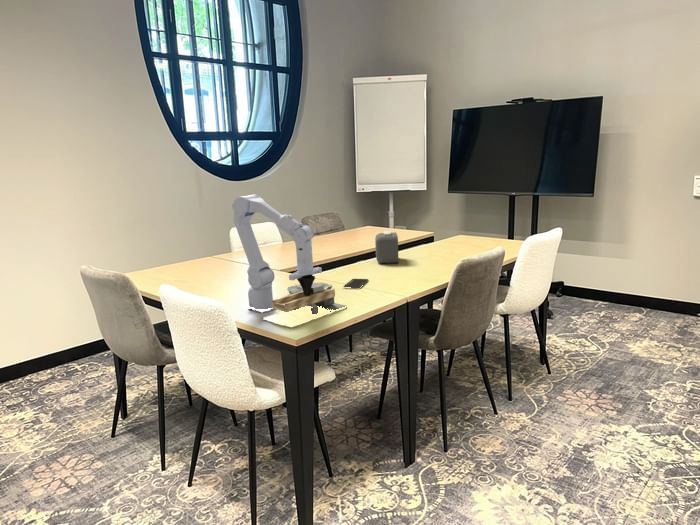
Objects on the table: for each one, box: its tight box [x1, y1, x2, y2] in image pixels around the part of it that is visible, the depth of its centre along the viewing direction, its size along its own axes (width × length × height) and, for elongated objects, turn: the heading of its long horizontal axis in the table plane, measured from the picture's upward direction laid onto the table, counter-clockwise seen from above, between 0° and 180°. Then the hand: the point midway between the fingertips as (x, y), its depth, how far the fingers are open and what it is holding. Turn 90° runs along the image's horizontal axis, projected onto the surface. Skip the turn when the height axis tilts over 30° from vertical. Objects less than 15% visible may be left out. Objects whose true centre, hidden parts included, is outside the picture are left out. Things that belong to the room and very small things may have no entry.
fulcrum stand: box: [295, 302, 347, 314], centre depth 194 cm, size 28×16×3 cm, turn 138°
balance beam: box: [272, 288, 336, 312], centre depth 193 cm, size 24×12×6 cm, turn 138°
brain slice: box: [286, 282, 333, 295], centre depth 222 cm, size 20×17×3 cm
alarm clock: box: [374, 230, 399, 264], centre depth 278 cm, size 16×11×16 cm
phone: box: [343, 278, 369, 288], centre depth 234 cm, size 8×1×15 cm
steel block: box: [305, 282, 324, 297], centre depth 196 cm, size 5×5×4 cm
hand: (307, 295), depth 194 cm, fingers closed
